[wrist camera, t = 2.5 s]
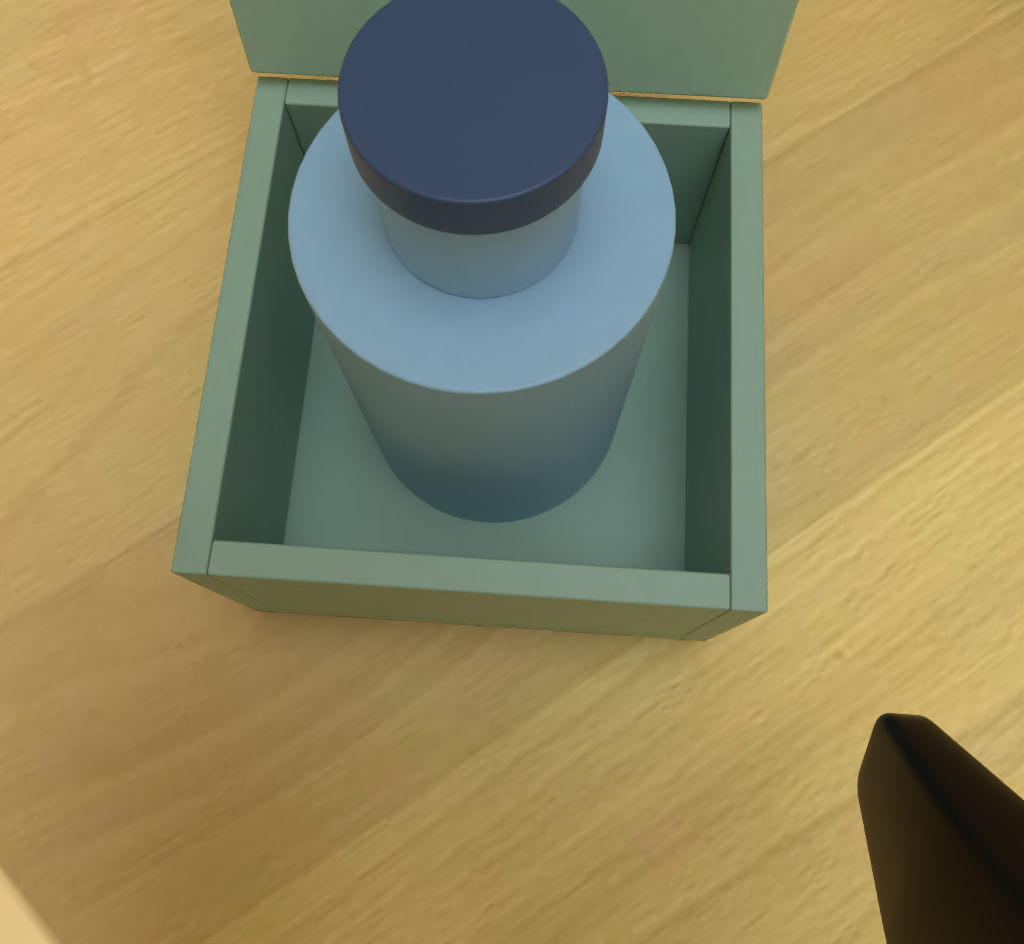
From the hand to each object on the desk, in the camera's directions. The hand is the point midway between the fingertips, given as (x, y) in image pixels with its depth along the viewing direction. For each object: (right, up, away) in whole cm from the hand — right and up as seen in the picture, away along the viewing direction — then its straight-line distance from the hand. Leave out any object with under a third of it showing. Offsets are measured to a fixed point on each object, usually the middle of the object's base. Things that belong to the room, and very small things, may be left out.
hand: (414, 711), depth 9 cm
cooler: (0, +4, +15) cm, 16 cm away
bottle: (0, +4, +15) cm, 15 cm away
